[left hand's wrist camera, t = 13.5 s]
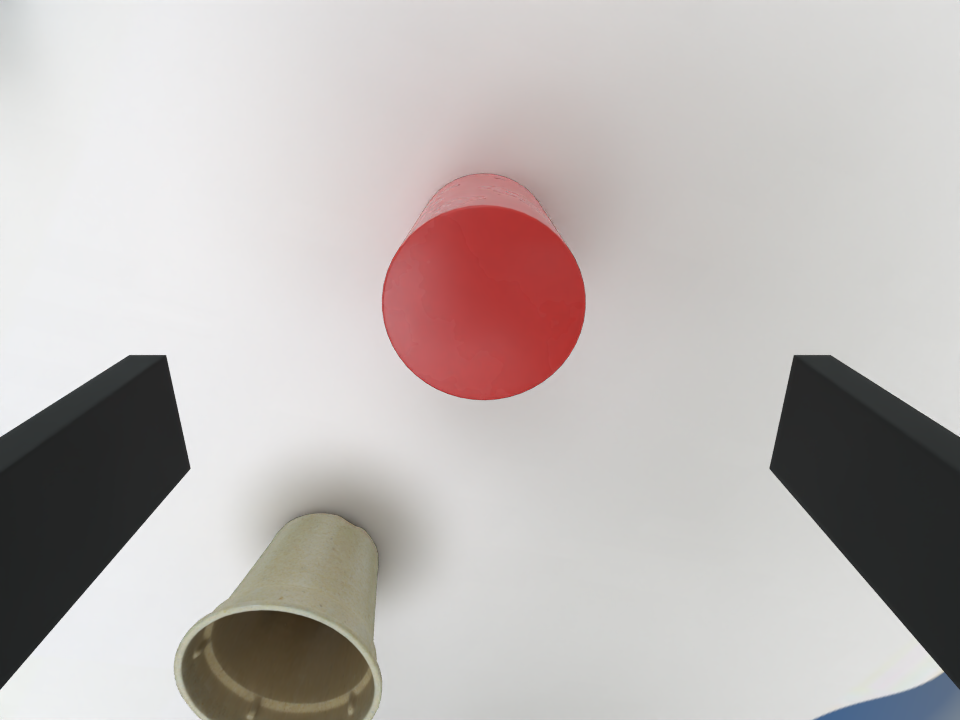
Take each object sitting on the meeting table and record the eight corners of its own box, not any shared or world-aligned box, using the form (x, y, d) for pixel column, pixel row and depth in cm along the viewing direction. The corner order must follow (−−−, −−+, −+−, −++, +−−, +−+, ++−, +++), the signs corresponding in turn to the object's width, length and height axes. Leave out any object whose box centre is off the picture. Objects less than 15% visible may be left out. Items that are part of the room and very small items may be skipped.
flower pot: (211, 534, 34) (127, 664, 26) (336, 458, 32) (287, 573, 24) (316, 633, 37) (269, 776, 29) (436, 569, 35) (422, 704, 27)
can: (469, 143, 25) (461, 158, 16) (578, 230, 27) (628, 290, 17) (391, 256, 27) (342, 328, 18) (495, 331, 29) (501, 434, 19)
